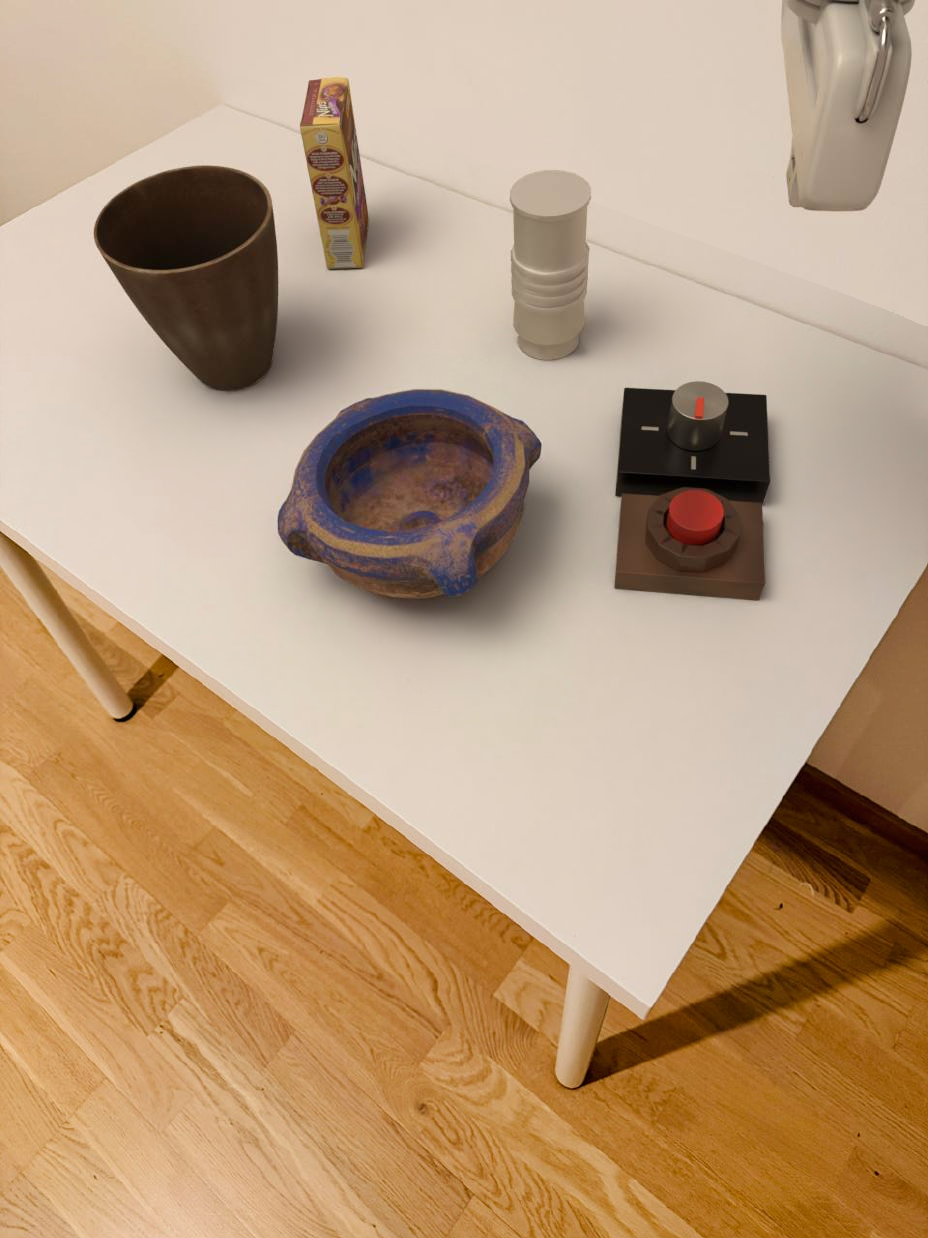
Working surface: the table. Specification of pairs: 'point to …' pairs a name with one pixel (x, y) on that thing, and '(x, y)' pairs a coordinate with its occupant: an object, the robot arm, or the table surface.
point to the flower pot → (199, 267)
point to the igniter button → (695, 517)
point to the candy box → (335, 171)
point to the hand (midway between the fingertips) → (801, 193)
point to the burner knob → (697, 415)
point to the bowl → (411, 492)
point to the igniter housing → (690, 550)
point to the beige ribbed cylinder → (549, 261)
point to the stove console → (665, 466)
